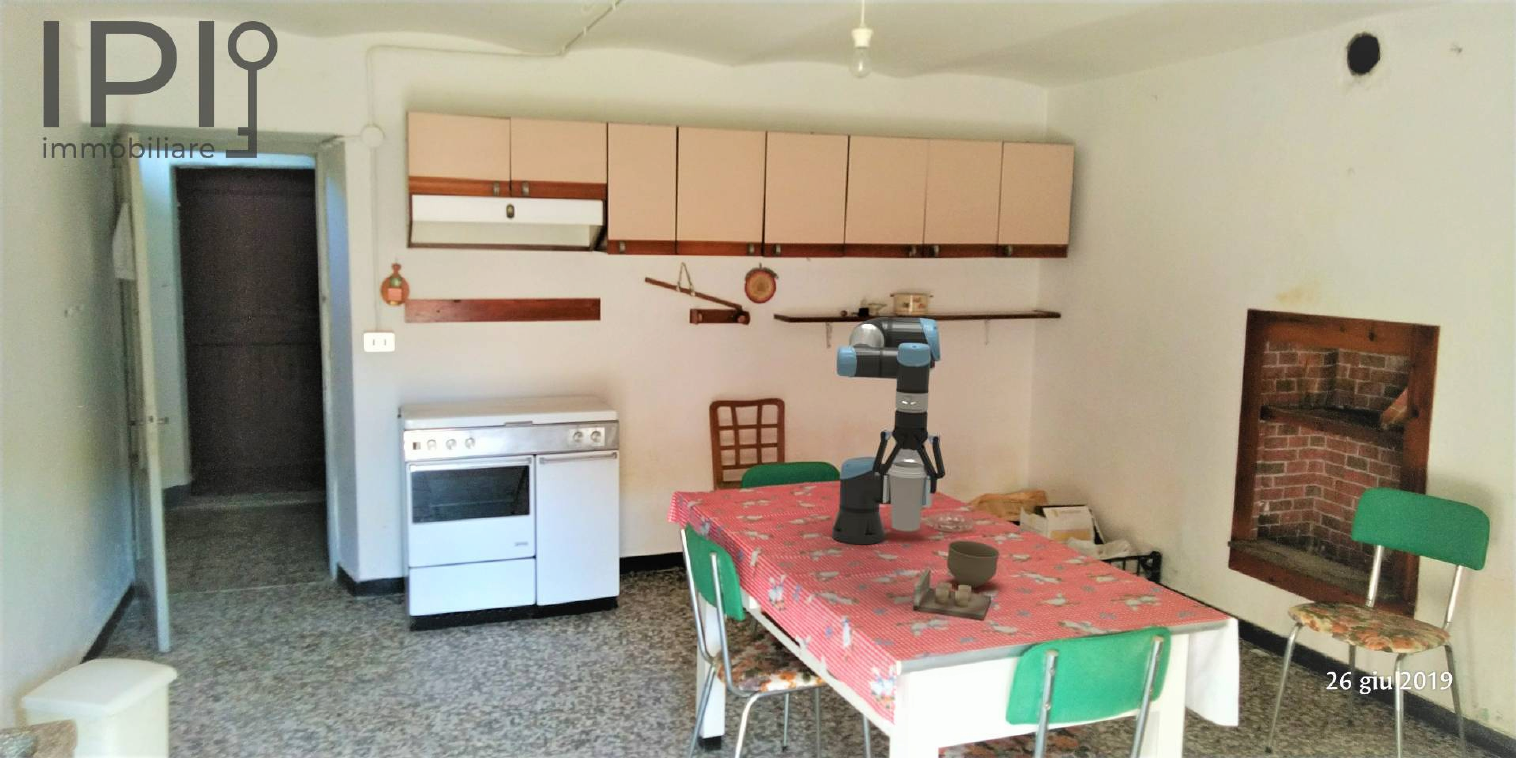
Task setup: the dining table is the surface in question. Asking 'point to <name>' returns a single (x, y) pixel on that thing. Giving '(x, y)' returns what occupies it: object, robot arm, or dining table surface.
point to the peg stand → (948, 599)
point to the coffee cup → (907, 494)
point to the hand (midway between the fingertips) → (907, 504)
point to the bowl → (972, 562)
